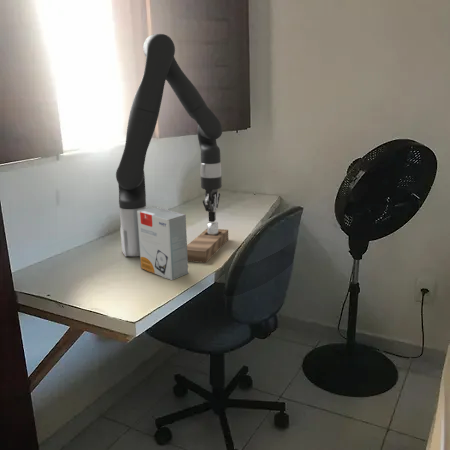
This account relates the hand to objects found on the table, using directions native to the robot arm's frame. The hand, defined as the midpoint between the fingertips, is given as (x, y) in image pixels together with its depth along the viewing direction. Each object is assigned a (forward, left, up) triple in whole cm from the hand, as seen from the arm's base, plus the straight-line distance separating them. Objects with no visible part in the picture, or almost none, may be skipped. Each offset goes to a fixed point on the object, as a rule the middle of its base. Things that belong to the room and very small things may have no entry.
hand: (212, 221), depth 188 cm
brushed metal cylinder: (0, 0, -9) cm, 9 cm away
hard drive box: (-24, -19, -9) cm, 32 cm away
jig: (-4, -6, -9) cm, 11 cm away
